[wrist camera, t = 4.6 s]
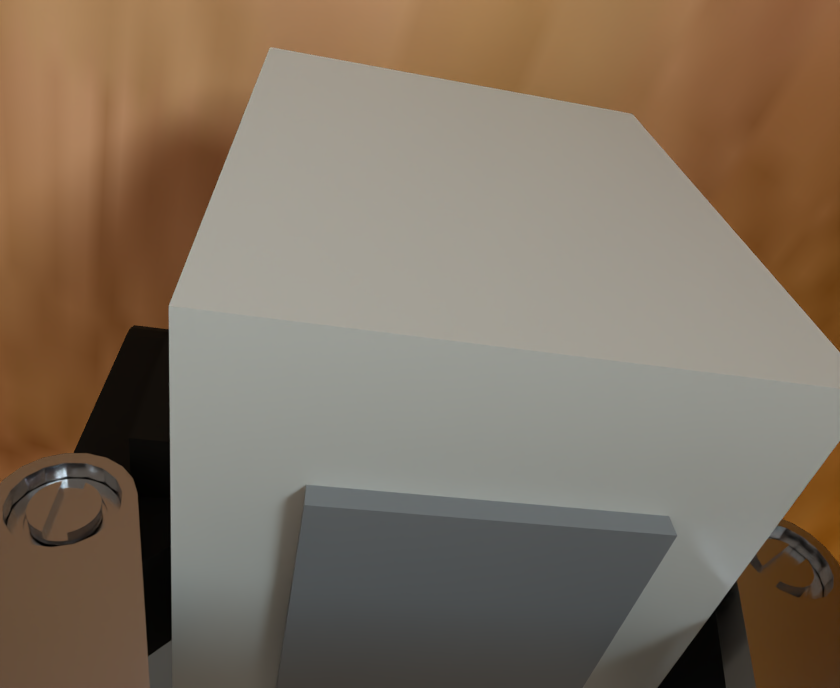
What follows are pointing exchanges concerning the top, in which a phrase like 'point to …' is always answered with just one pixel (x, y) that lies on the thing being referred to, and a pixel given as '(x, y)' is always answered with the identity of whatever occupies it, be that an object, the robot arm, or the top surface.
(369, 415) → the module
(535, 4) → the top surface
